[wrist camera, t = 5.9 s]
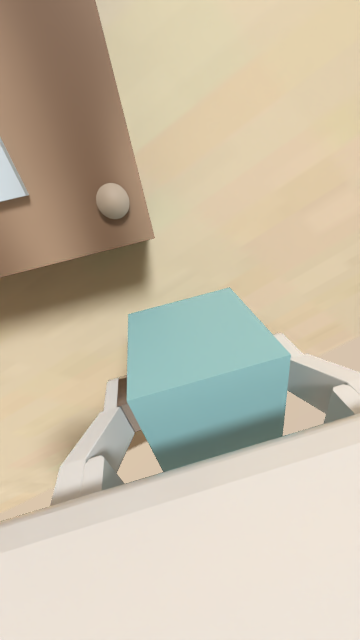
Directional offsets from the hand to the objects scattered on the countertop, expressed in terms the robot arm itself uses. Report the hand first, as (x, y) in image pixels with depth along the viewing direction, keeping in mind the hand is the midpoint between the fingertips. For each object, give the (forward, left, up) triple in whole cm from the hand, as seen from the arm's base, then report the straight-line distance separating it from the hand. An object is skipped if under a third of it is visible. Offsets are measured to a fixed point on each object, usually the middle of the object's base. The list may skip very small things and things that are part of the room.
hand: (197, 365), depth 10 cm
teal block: (0, 0, -2) cm, 2 cm away
